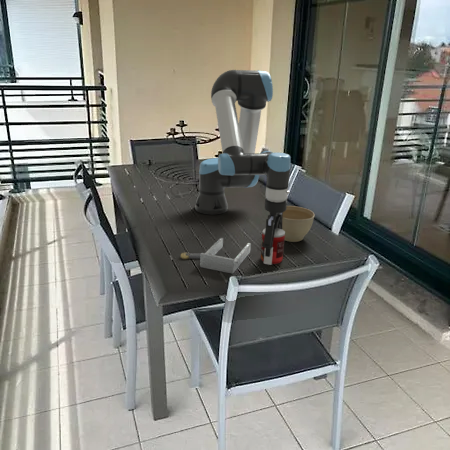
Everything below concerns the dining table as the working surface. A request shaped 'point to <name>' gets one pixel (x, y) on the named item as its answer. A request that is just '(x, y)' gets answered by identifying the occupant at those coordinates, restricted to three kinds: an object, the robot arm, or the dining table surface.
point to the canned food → (275, 246)
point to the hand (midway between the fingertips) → (271, 257)
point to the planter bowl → (296, 223)
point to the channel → (222, 258)
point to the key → (190, 255)
